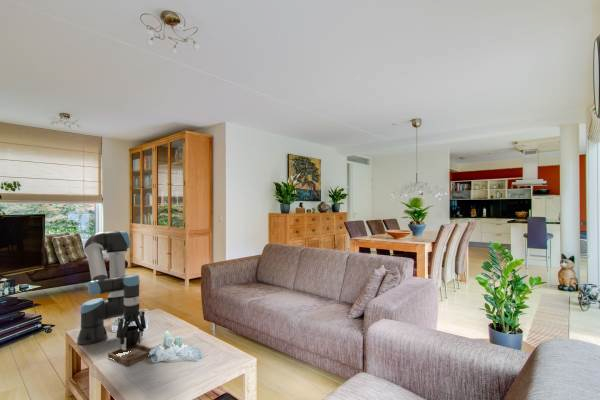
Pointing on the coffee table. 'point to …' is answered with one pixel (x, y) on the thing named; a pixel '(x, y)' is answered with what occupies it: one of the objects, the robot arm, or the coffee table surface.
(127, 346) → the mug
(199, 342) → the coffee table surface
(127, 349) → the tray
